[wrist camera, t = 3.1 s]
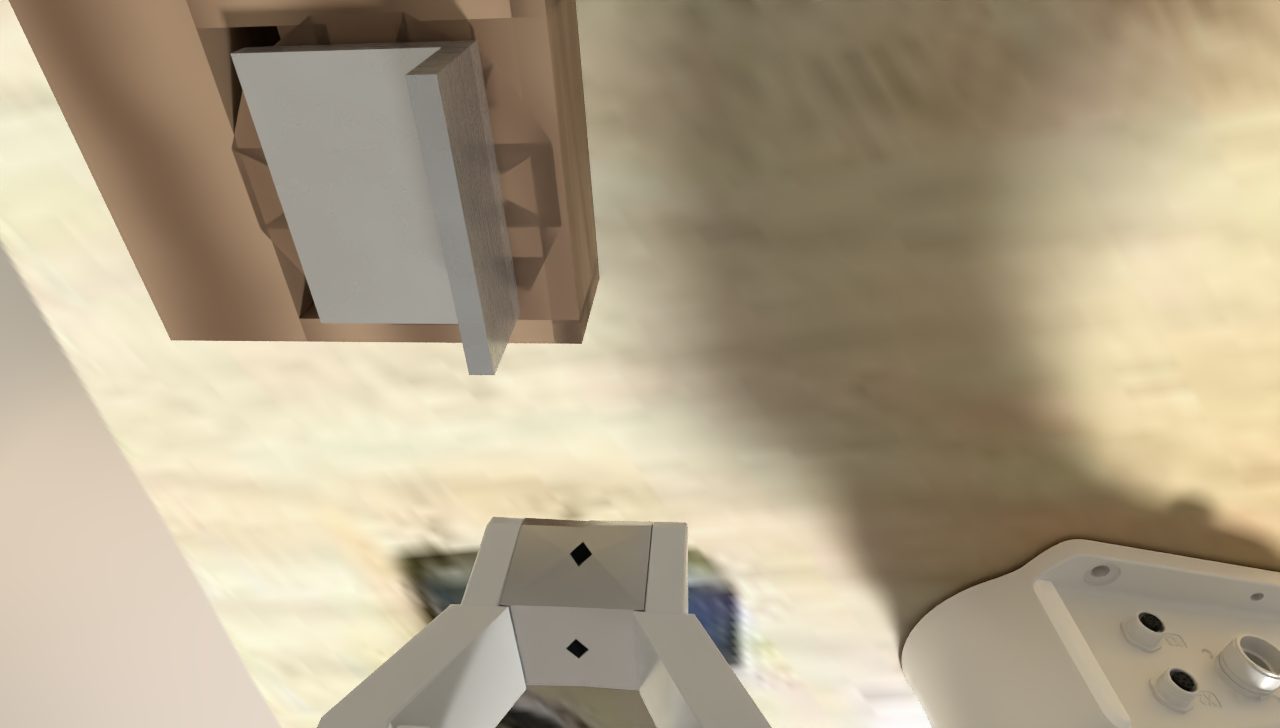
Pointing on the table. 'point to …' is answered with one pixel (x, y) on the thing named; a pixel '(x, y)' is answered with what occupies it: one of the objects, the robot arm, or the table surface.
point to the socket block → (239, 174)
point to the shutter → (389, 184)
